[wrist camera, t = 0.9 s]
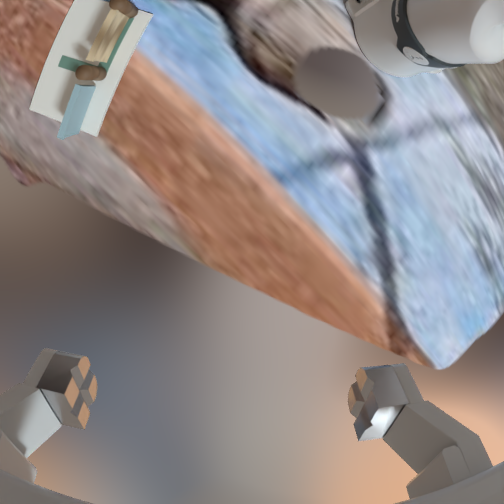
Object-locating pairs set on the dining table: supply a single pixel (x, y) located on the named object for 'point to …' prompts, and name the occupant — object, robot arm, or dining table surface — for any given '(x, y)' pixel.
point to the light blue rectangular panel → (76, 110)
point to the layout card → (85, 62)
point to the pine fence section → (107, 39)
